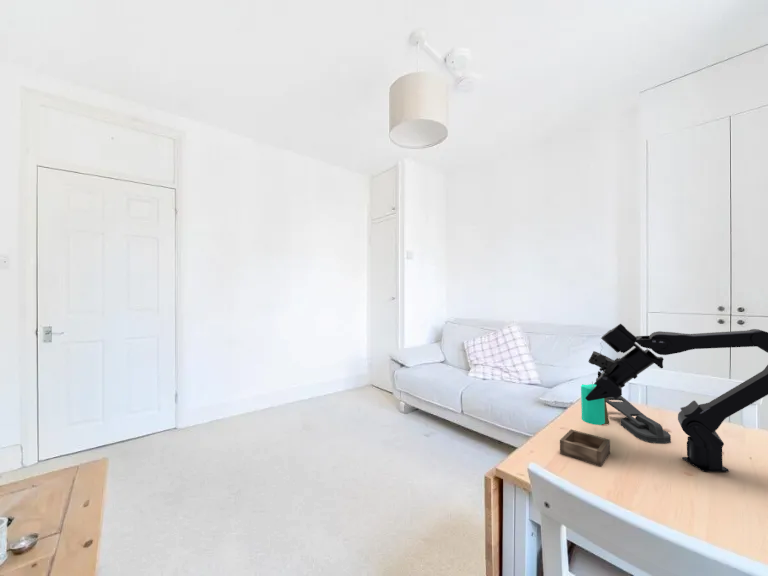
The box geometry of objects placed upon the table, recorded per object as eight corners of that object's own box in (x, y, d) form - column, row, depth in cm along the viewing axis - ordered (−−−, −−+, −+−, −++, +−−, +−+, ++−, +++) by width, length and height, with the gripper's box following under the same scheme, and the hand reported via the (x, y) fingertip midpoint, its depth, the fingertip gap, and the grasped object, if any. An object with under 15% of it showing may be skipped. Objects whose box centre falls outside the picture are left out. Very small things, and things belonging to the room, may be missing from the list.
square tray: (610, 453, 94) (609, 439, 94) (601, 466, 87) (601, 452, 87) (571, 441, 101) (570, 429, 101) (560, 453, 94) (559, 440, 94)
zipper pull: (622, 395, 124) (676, 422, 99) (622, 412, 124) (676, 444, 99) (597, 394, 124) (644, 421, 99) (597, 412, 124) (645, 443, 99)
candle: (604, 419, 102) (603, 380, 102) (605, 426, 97) (604, 385, 97) (581, 415, 105) (580, 377, 105) (582, 422, 100) (581, 382, 100)
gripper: (607, 339, 106) (569, 369, 113) (605, 348, 91) (561, 382, 97) (639, 366, 102) (597, 396, 108) (642, 381, 86) (593, 414, 93)
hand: (587, 396), depth 102 cm, fingers closed on candle, 5 cm apart
